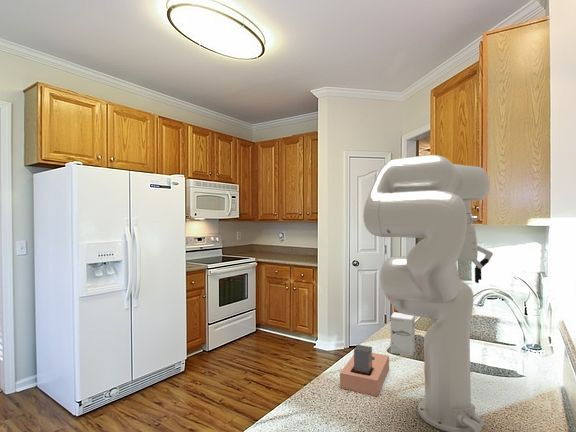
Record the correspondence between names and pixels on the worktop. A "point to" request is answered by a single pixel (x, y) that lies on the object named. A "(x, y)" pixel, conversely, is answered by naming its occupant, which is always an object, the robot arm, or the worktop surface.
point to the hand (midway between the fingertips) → (457, 281)
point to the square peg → (363, 360)
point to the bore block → (365, 376)
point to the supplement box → (402, 334)
